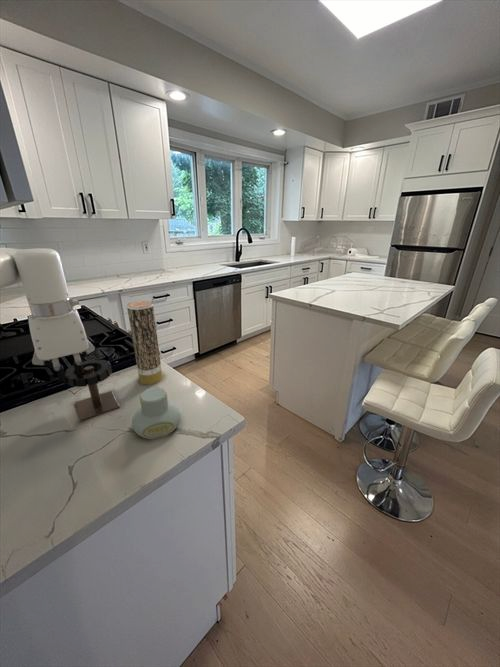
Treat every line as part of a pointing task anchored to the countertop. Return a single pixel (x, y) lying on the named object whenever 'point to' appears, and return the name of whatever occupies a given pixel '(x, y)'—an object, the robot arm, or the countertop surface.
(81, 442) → the countertop surface
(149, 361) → the patterned tall cylinder
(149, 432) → the air freshener
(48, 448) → the countertop surface
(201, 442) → the countertop surface
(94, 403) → the holder
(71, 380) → the ring
